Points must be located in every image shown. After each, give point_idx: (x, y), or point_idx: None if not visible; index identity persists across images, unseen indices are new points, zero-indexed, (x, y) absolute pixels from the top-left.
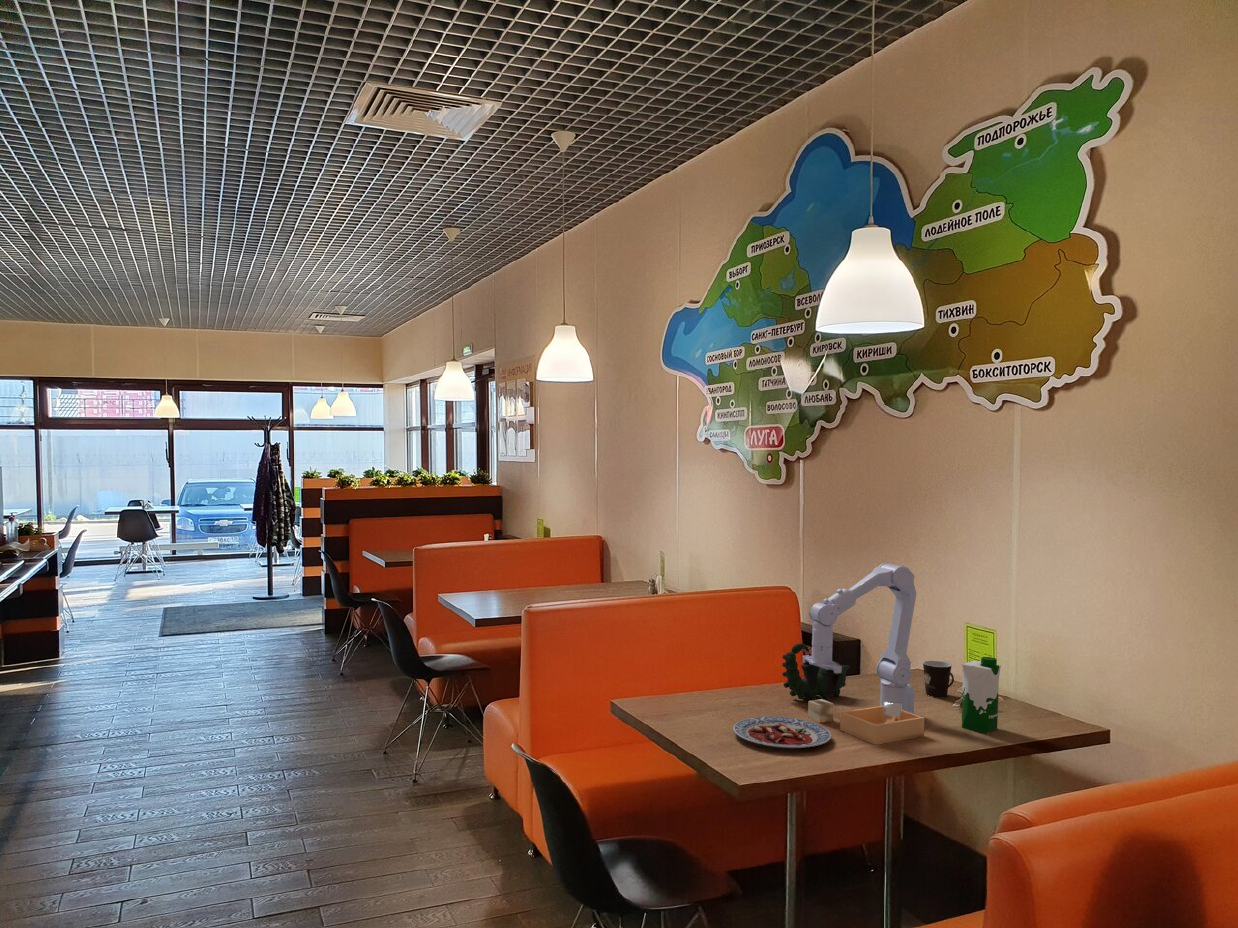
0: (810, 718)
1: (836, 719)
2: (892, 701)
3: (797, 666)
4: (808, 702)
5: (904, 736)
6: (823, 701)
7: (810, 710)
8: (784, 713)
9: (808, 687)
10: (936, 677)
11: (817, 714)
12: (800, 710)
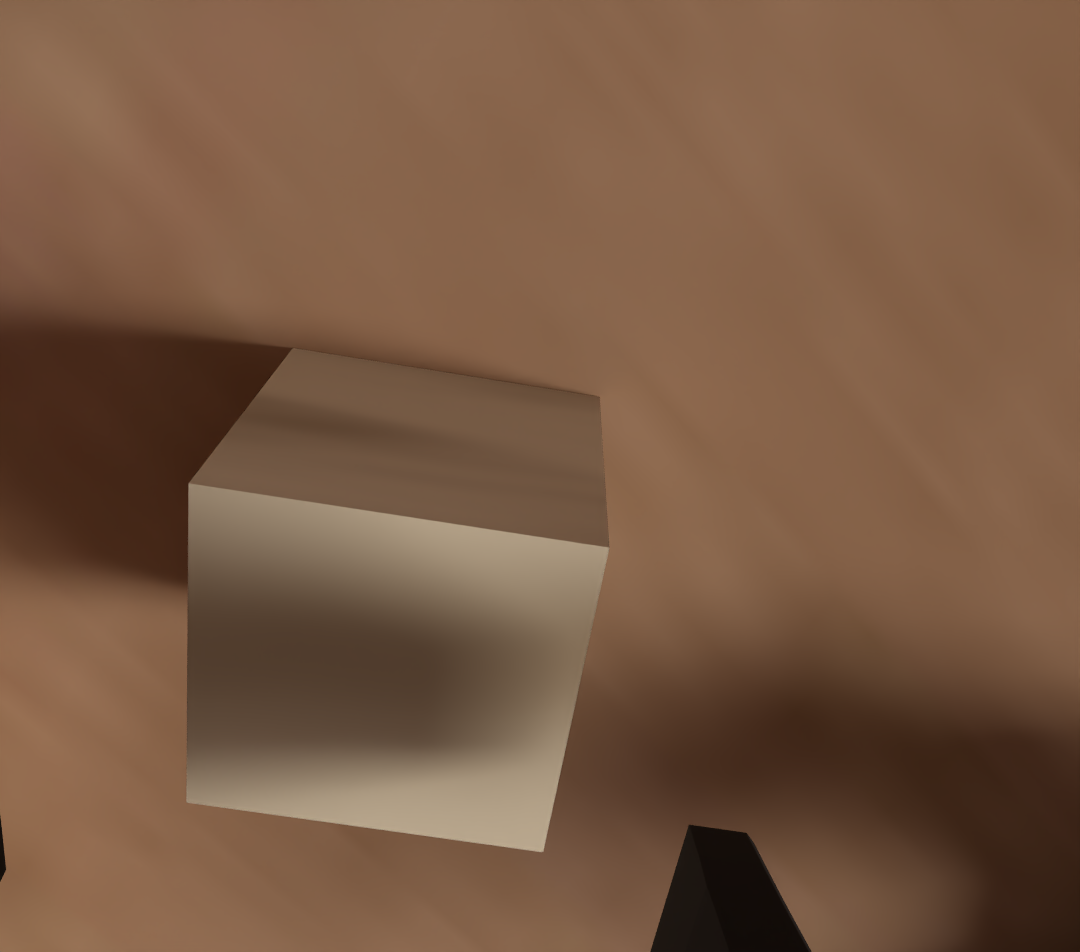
0: (532, 390)
1: None
2: None
3: None
4: (600, 530)
5: None
6: (402, 764)
7: (530, 449)
8: (1056, 252)
9: (756, 866)
10: None
11: (319, 405)
12: (949, 607)
